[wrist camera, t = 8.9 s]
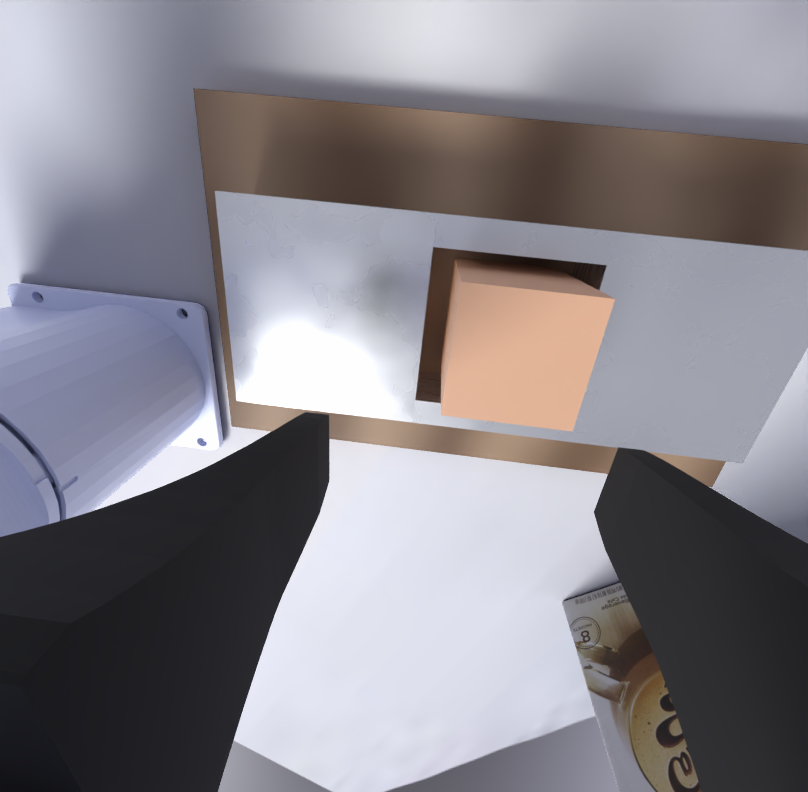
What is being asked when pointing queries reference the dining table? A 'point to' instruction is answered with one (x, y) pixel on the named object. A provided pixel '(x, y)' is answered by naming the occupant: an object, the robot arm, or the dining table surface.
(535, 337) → the peg
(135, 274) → the dining table surface
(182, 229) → the dining table surface
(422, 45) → the dining table surface
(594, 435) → the white square hole block
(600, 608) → the coffee box
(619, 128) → the board
